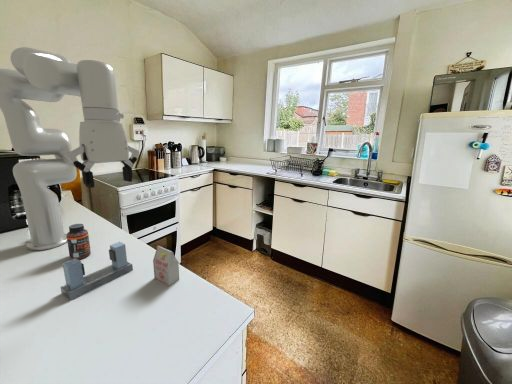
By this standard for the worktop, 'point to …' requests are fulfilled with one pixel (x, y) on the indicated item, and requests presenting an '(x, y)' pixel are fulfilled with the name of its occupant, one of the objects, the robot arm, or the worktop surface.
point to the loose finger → (118, 255)
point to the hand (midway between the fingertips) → (110, 183)
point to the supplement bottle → (78, 242)
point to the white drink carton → (165, 266)
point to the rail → (88, 277)
